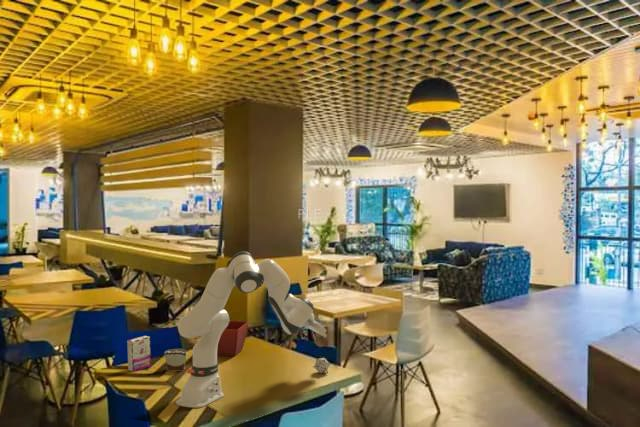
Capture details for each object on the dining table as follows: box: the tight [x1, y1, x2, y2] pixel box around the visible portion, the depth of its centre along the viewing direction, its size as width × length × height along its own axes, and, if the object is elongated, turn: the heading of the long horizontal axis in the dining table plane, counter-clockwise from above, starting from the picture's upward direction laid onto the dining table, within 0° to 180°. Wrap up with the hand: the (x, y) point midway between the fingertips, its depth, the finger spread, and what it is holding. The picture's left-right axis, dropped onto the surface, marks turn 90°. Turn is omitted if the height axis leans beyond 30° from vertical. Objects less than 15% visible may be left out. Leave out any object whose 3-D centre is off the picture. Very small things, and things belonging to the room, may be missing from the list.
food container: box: [163, 348, 188, 372], centre depth 271 cm, size 12×6×10 cm, turn 84°
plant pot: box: [217, 320, 249, 357], centre depth 298 cm, size 19×19×17 cm
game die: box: [312, 355, 332, 375], centre depth 262 cm, size 9×8×10 cm
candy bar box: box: [126, 335, 152, 373], centre depth 272 cm, size 11×5×16 cm, turn 143°
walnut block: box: [315, 323, 330, 348], centre depth 261 cm, size 5×5×10 cm
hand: (322, 334), depth 262 cm, fingers closed on walnut block, 5 cm apart
